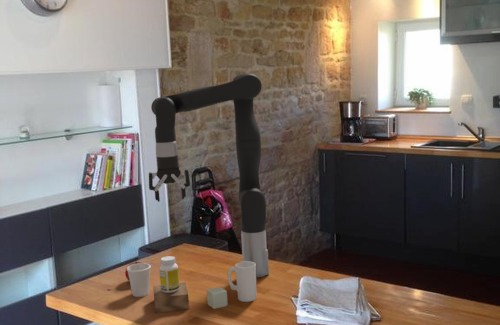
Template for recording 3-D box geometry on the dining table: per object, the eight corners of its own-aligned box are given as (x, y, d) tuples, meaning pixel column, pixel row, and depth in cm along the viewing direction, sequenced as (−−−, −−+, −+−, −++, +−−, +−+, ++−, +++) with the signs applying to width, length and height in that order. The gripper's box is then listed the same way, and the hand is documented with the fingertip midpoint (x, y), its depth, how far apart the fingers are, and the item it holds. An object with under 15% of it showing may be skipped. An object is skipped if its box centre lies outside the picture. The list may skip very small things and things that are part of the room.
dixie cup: (136, 288, 206) (134, 262, 204) (156, 290, 203) (154, 263, 201) (124, 297, 198) (121, 269, 197) (145, 299, 195) (143, 271, 194)
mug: (259, 295, 194) (258, 261, 192) (253, 303, 187) (251, 268, 186) (232, 293, 197) (230, 260, 195) (225, 300, 191) (223, 266, 189)
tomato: (129, 287, 207) (127, 266, 206) (123, 280, 215) (121, 260, 214) (152, 282, 211) (151, 262, 210) (145, 276, 219) (144, 256, 218)
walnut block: (186, 296, 196) (185, 282, 195) (189, 308, 185) (188, 294, 185) (154, 300, 194) (153, 286, 193) (155, 312, 183) (154, 298, 183)
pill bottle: (181, 286, 192) (179, 255, 190) (177, 293, 186) (175, 261, 184) (163, 286, 192) (161, 255, 191) (158, 293, 186) (156, 261, 185)
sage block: (221, 300, 191) (220, 286, 190) (227, 305, 186) (226, 291, 186) (207, 304, 189) (206, 289, 188) (213, 309, 184) (212, 294, 184)
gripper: (186, 151, 203) (189, 195, 205) (146, 155, 200) (149, 199, 202) (188, 154, 195) (192, 200, 198) (146, 157, 192) (150, 204, 195)
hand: (170, 199), depth 200 cm, fingers open, 8 cm apart
